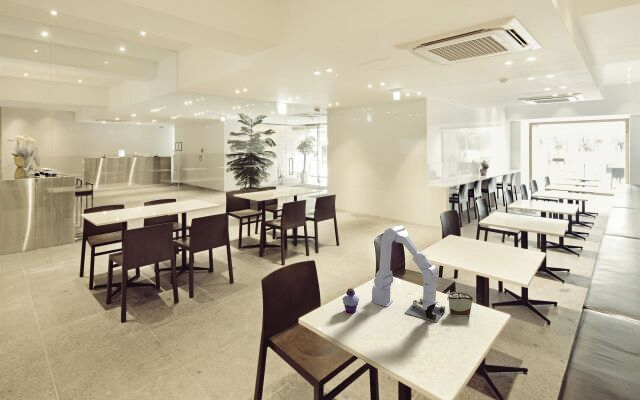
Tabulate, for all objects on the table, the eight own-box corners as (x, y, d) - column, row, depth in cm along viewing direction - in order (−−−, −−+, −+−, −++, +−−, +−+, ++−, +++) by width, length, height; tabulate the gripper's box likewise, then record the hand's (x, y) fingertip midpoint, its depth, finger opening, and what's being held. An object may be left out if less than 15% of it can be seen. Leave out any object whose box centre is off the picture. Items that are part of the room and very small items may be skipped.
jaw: (411, 306, 173) (411, 300, 172) (415, 305, 174) (415, 299, 173) (432, 320, 159) (432, 313, 158) (436, 318, 160) (436, 312, 159)
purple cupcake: (359, 307, 174) (358, 285, 172) (359, 315, 166) (359, 293, 164) (342, 307, 175) (342, 285, 173) (342, 315, 167) (341, 292, 165)
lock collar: (419, 302, 172) (419, 298, 171) (421, 300, 174) (421, 296, 174) (424, 303, 170) (424, 299, 170) (425, 301, 173) (426, 297, 172)
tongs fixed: (413, 305, 174) (413, 300, 174) (414, 303, 176) (414, 299, 175) (443, 313, 165) (444, 308, 165) (444, 311, 167) (445, 306, 167)
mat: (404, 313, 167) (404, 312, 167) (413, 303, 177) (413, 302, 177) (437, 322, 158) (437, 321, 158) (444, 311, 168) (444, 310, 168)
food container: (468, 309, 169) (469, 291, 168) (472, 315, 163) (474, 296, 162) (443, 309, 170) (444, 290, 169) (447, 315, 164) (447, 296, 163)
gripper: (433, 298, 149) (432, 326, 152) (442, 287, 161) (441, 313, 163) (418, 295, 154) (417, 322, 156) (427, 284, 165) (427, 309, 167)
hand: (428, 317), depth 160 cm, fingers closed, pressing on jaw
